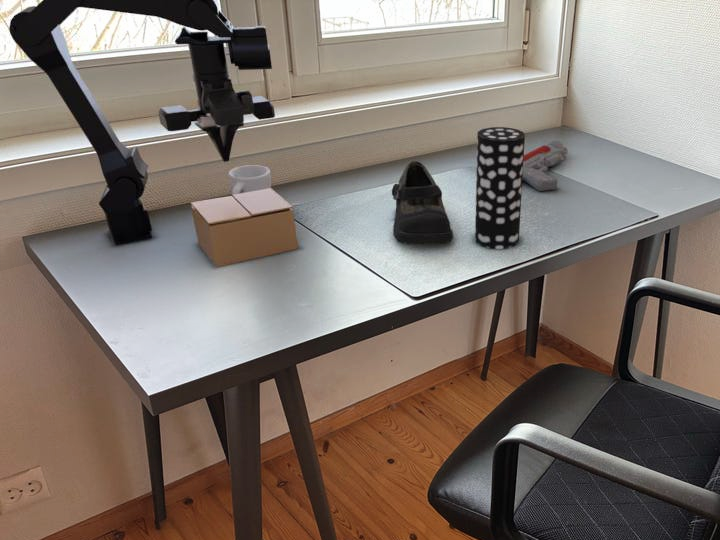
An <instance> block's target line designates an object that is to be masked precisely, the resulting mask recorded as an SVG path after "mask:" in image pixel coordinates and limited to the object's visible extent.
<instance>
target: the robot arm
mask: <svg viewBox="0 0 720 540" xmlns="http://www.w3.org/2000/svg"><path fill="white" fill-rule="evenodd" d="M78 8H85V9H93V10H100V11H109V12H116V13H125V14H131V15H132V14H133V15H140V16H149V17H157V18H159V19H163V20H166V21H169V22H172V23H174V24H177V25H179V26H181V27H182V28H181V31H180V32H179V33H178V35H177V36H176V37H175V39H174V42H175V43H174V44H176V45H187V46H188V51H189V58H190V63H191V67H192V73H193V74H192V79H193V82H194V86H195V90H196V95H197V99H196V100H197V101H196V102H197V106H198V107H199V108H196V109H188V110H187V109H186V108H185V107H184V106H183V105H181V104H180V105H170V106H163V107H160V109H159V110H158V118H159V123H160V125H161V126H162V127H163V128H164V129H166V131H167V132H176V131H184V130H189V128H190V127H191V125H192V122H194V125H195V126H196V127H197V128H198V129H200V130H201V131H202V132H205V133H206V134H207V135H208V137H209V138H210V140H211V142H212V144H213V145H214V147H215V149H216V151H217V152H218V153H217V154H218V155H219V156H220V158H221V159H222V161H223V162H224V163H226V162H229V161H230V157H231V152H232V146H233V142H234V138H235V135H236V132H237V131H238V130H239V128H242V127H244V126H245V117H244V116H247V115H253V116H254V117H255V118H256V119H257V120H261V121H262V120H266V119H267V120H268V119H274V118H275V117H276V115H275V114H276V113H275V107H274V104H273V103H272V102H271V101H270V100H268V99H267V98H265V97H264V96H263V95H255V96H253V95H252V93H251V92H250V90H244V91H243V90H242V91H238V92H236V91H235V89H234V87H233V82H232V79H231V78H230V73H229V68H228V61H227V60H228V59H227V54H226V49H225V48H226V47H225V44H227V49H228V53H229V54H228V55H229V60H230V61H229V62H230V64H231V65H234V67H237V69H238V71H253V70H256V71H257V70H272V69H273V65H272V58H271V50H270V49H271V48H270V43H268V36H267V28H266V26H265V25H256V26H251V27H234V25H233V24H232V22H231V21H230V20H229V19H228V18H227V17H226V16H225V15H224V14H223V12H222V11H221V10H220V6H219V1H218V0H42V1H40V2H39V3H38V4H37V5H33V6H28V7H25V8H24V9H23V10H21V11H20V12H19V11H18V13H16V14H14V15H13V16H12V17H11V19H10V22H9V27H8V30H9V34H10V36H11V38H12V40H13V41H14V43H15V44H16V45H17V46H18V47H19V48H20V50H21V51H22V52H23V53H24V54H25V55H26V57H27V58H28V59H29V60H30V61H31V62H33V63H34V64H35V65H36V66H37V67H38V68H40V70H42V71H43V72H44V73H45V74H46V76H47V78H48V79H49V80H50V82H51V83H52V85H53V87H54V88H55V90H56V91H57V93H58V94H59V96H60V97H61V99H62V100H63V101H64V104H65V105H66V107H67V108H68V110H69V112H70V113H71V115H72V116H73V118H74V119H75V121H76V123H77V124H78V126H79V127H80V129H81V130H82V132H83V134H84V136H85V137H86V140H87V141H88V142H89V144H90V145H91V147H92V149H93V150H94V151H95V154H96V155H97V158H98V161H99V165H100V169H101V172H102V175H103V178H104V180H105V182H106V186H105V188H104V190H103V193H102V195H101V197H100V200H99V201H98V205H99V206H100V207H101V209H102V211H103V213H104V215H105V219H106V220H105V221H106V223H107V227H108V230H107V232H108V235H109V237H110V238H111V240H112V242H113V243H114V245H123V244H127V243H133V242H137V241H143V240H147V239H152V238H153V234H152V232H153V228H152V223H151V219H150V214H149V211H148V209H147V208H146V207H145V206H144V205H143V202H142V201H141V199H140V198H142V197H143V194H144V192H145V189H146V185H147V183H148V179H149V172H148V168H149V164H147V163H146V162H145V161H144V159H142V156H141V154H140V150H139V149H138V147H137V146H132V148H128V147H127V146H126V145H124V144H123V143H122V142H121V141H120V139H119V137H118V136H117V134H116V133H115V131H114V130H113V128H112V126H111V124H110V122H109V120H107V118H106V116H105V115H104V112H103V111H102V109H101V108H100V106H99V105H98V103H97V101H96V100H95V98H94V96H93V94H92V93H91V91H90V90H89V88H88V86H87V85H86V83H85V81H84V79H83V78H82V76H81V74H80V73H79V71H78V70H77V68H76V66H75V65H74V63H73V60H72V58H71V53H70V50H69V46H68V43H67V40H66V38H65V35H64V32H63V30H62V27H61V24H63V23H64V22H65V21H66V20H67V19H68V18H69V17H70V16H71V15H72V14H73V13H74V12H75V11H76V10H77V9H78ZM188 28H189V29H188ZM190 29H192V30H196V31H191V30H190ZM209 32H210V33H211V34H213V35H215V36H212V35H211V36H210V34H209Z"/></svg>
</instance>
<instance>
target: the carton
mask: <svg viewBox="0 0 720 540" xmlns="http://www.w3.org/2000/svg"><path fill="white" fill-rule="evenodd" d="M231 196H232V197H234V199H235V200H236V201H237V202H238V203H239V204H240V205H241V206H242V207H243V208H244V209H245V210H246V211H247V212H248V213H249V214H250V215H251V217H248V218H243V219H240V220H238V221H233V222H228V223H222V224H217V225H213V224H208V223H207V222H206V221H205V219H204V218H203V217H202V216H201V215H200V214H199V213H198V211H197V210H196V209H195V208H194V207H193V206H192V205H190V208H191V214H192V219H193V223H194V229H195V234H196V238H197V244H198V246H199V247H200V248H201V250H203V252H204V253H205V255H206V256H207V257H208V258H209V259H210V261H211V262H212V264H214V266H215V267H216V268H218V267H219V268H220V267H224V266H227V265H232V264H236V263H241V262H245V261H250V260H254V259H259V258H263V257H268V256H273V255H276V254H280V253H285V252H289V251H295V250H298V249H299V244H298V238H297V229H296V221H295V212H294V211H295V210H294V209H293V205H292V204H290V203H289V202H288V201H287V200H285V198H283V197H282V196H281V195H280V194H279V193H278V192H276V191H275V190H274V189H273V188H272V187H271V188H268V189H263V190H257V191H251V192H246V193H240V194H235V195H232V194H231Z"/></svg>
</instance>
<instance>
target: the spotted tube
mask: <svg viewBox="0 0 720 540" xmlns="http://www.w3.org/2000/svg"><path fill="white" fill-rule="evenodd" d="M525 141H526V133H525V132H524V131H522V130H520V129H517V128H513V127H505V126H491V127H486V128H482V129H479V130H478V131H477V134H476V181H475V222H474V223H475V224H474V225H475V227H474V229H475V230H474V242H475V243H476V244H478V245H479V246H481V247H483V248H487V249H492V250H493V249H494V250H504V249H509V248H513V247H515V246H517V245H518V244H519V242H520V229H521V211H522V195H523V194H522V193H523V180H522V177H523V160H524V155H525Z"/></svg>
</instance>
